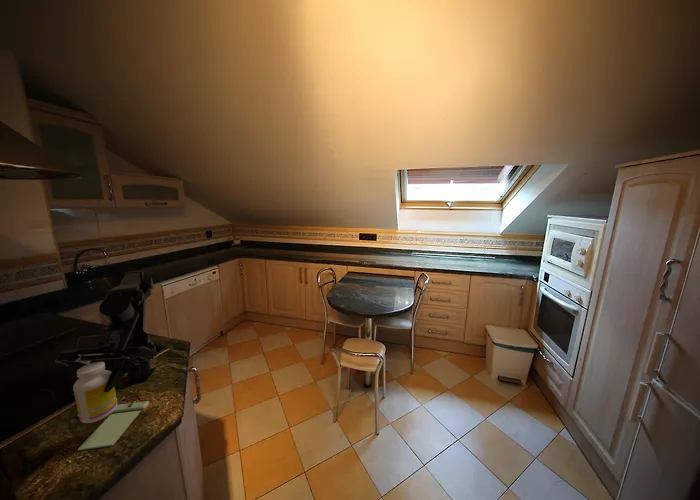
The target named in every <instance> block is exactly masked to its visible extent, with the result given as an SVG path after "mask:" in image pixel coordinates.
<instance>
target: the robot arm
mask: <svg viewBox="0 0 700 500" xmlns="http://www.w3.org/2000/svg"><path fill="white" fill-rule="evenodd" d="M153 281H154V280H153V279H152V276H151V275H148V274H146V273H144V271H143V270H135V271H134V270H133V271H127V272H124V273H123V278H122V279H121V283H120V284H119V286H115V287H112V288H111V289H110V290H108V293H107V294H106V295H105V296H104V299H103V300H102V301H101V303H100V305H99V307H98V310H99V312H100V314H101V315H102V316H103V318H105V320H106V321H108V323H107V325H106V327H105V328H104V329H101V330H99V331H98V332H97V334H96V335H87V336H85V335H84V336H83V335H82V336H78V337H77V338H78V339H77V342H76V347H75V349H66V350H65V349H64V350H63V351H62V352H60V353H59V354H58V355H57V357H56V359H55V360H54V363H58V364H63V365H64V366H67V367H69V368H70V370H71V386H70V387H71V388H70V395H71V396H75V395H74V390H73V386H74V384H75V382H76V381H77V380H78V379H79V378H78V377H77V371H78V370H79V369H80V368H81V367H83V366H85V365H88V364H91V363H93V361H103V360H113V369H112V371H111V375H110V378H109V380H108V382H107V384H106V387H105V391H104V392H109V391H110V390H111V389H112V388H113V387H115V386H116V385H117V384H118V383H119V382H120V381H121V379H123V378H124V377H125V375H127V377H126V379H124V380H123V384H131V383H139V382H141V383H142V382H146V381H147V380H148V379H149V378H150V377H151V376H152V375H153V374H154V373H155V371H156V370H157V367H152V364H151V360H153V359H154V358H155V357H157V349H156V345H155V344H154V343H153V341H151V339H150V336H149V334H148V332H146V304H147V303H146V302H147V300H148V298H149V297H151V295H152V290H153V289H154V282H153ZM86 350H87V351H86ZM155 369H156V370H155ZM152 373H153V374H152ZM151 374H152V375H151ZM150 375H151V376H150Z"/></svg>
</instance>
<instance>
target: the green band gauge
mask: <svg viewBox="0 0 700 500" xmlns="http://www.w3.org/2000/svg"><path fill="white" fill-rule="evenodd" d="M149 404H150V400H149V401H139V402H138V401H137V402H128V403H120V404H117V407H116V409H115V410H114V411H113V412H112V413H110V414H109V415H108V416H107V418H106V419H105V420H104V421H103V422H102V423H101V424H100V425H99V426H98V427H97V428H96V429H95V431H93V432H92V434H91V435H90V436H89V437H87V439H86V440H85V441H84V442H83V443H82V444H81V445H80V446H79V447H78V449H77V451H78V452H79V451H86V450H91V449H98V448H105V447H106V448H107V447H112V446H114V444H115V443H116V442H117V441H118V440H119V439H120V437H122V435H123V434H124V433H125V432H126V430H127V429H128V428H129V426H130V425H131V424H132V423H133V422H134V420H135V419H136V418H137V416H138V415H139V414H140V413H141V410H145V409H146V408H147V407H148V406H149ZM77 417H78V418H79V414H77Z"/></svg>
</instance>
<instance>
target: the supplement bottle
mask: <svg viewBox="0 0 700 500" xmlns="http://www.w3.org/2000/svg"><path fill="white" fill-rule="evenodd" d="M111 373H112V371H111V370H109V369H108V370H107V369H106V364H105V362H104V361H96V362H91V363H90V364H88V365H85V366H83V367H81V368H80V369H79V370H78V371H77V377H78V378H79V379H78V380H77V381H76V382H75V384H74V386H73V390H74V395H73V396H74V398H75V404H76V408H77V413H78V414H79V417H78V418H79V422H81V423H83V424H89V423H94V422H97V421H100V420H102V419H105V418H106V417H109V416H110V415H111V414H113V413H112V412H113V411H114V410H115V409H116V407H117V405H118V399H117V392H116V388H115V386H114V387H113V388H112V389H111V390H110V391H109V392H104V391H105V387H106V384H107V382H108V380H109V378H110V375H111ZM78 414H77V415H78Z"/></svg>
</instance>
